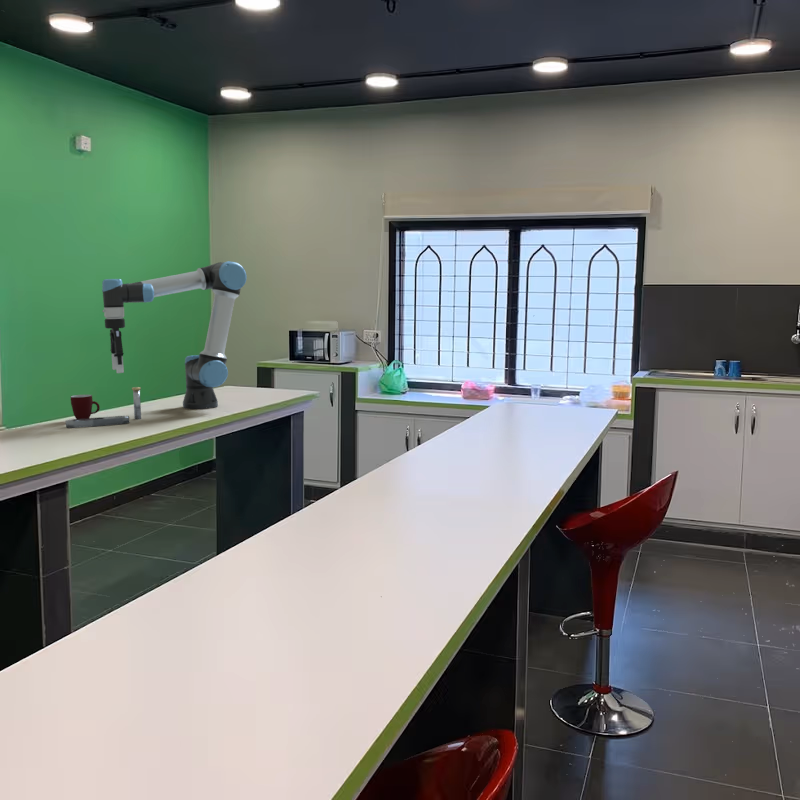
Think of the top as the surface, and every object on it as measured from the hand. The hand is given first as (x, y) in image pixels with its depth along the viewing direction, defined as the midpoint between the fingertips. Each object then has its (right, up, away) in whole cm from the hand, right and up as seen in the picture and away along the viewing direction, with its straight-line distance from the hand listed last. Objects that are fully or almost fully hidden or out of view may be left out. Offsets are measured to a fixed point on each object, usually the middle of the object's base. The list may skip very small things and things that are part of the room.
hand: (118, 371), depth 317 cm
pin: (+7, -19, +4) cm, 21 cm away
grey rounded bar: (-4, -21, -10) cm, 24 cm away
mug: (-13, -20, +1) cm, 24 cm away
